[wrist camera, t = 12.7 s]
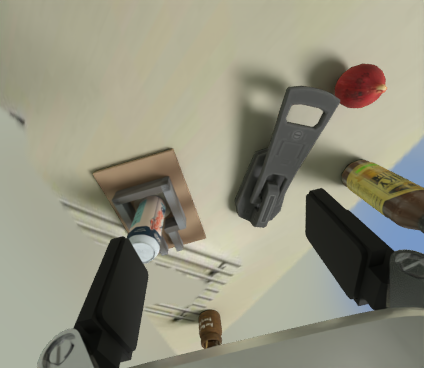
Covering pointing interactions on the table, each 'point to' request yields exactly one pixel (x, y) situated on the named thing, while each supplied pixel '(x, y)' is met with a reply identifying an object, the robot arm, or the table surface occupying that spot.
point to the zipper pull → (282, 156)
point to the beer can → (148, 227)
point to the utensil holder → (210, 329)
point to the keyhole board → (159, 186)
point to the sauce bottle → (387, 193)
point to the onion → (360, 86)
